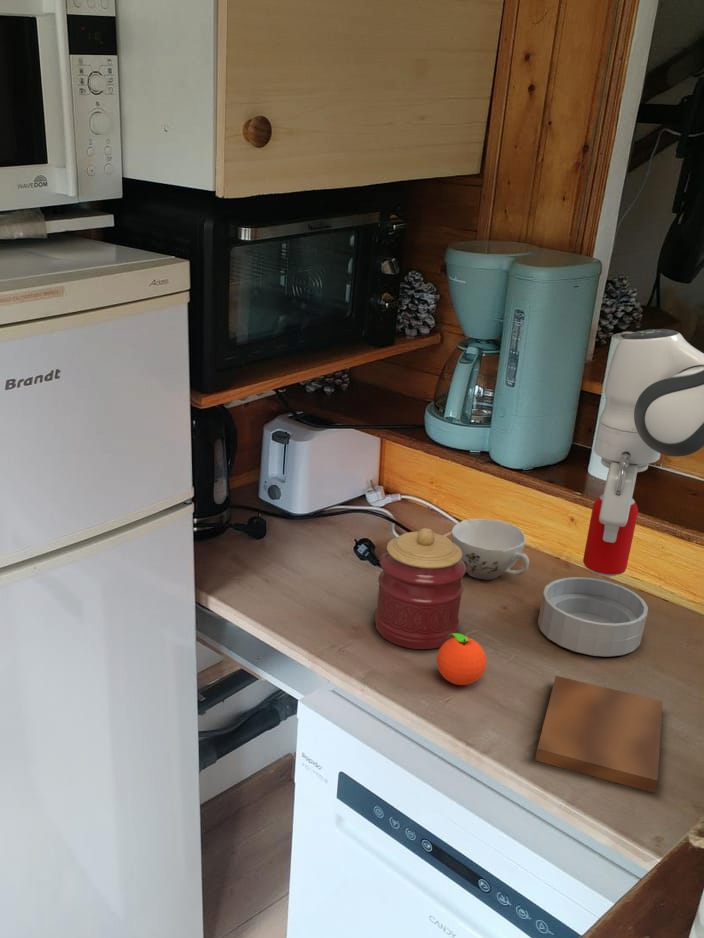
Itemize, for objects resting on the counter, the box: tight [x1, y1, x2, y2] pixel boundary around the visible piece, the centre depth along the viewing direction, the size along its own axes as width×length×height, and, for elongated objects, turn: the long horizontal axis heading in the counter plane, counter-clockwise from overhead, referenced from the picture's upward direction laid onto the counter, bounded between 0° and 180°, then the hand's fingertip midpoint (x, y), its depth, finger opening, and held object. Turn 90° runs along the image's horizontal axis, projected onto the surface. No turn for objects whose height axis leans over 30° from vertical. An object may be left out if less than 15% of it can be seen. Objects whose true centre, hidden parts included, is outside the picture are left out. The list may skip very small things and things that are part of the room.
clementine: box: [436, 632, 487, 686], centre depth 130 cm, size 8×7×7 cm
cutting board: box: [534, 675, 663, 794], centre depth 119 cm, size 14×18×2 cm
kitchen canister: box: [374, 527, 467, 650], centre depth 140 cm, size 13×13×18 cm
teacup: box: [451, 517, 530, 581], centre depth 159 cm, size 15×12×8 cm
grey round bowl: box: [537, 576, 649, 658], centre depth 142 cm, size 15×15×6 cm
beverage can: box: [582, 493, 639, 578], centre depth 136 cm, size 6×6×12 cm
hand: (611, 530), depth 135 cm, fingers closed on beverage can, 6 cm apart
